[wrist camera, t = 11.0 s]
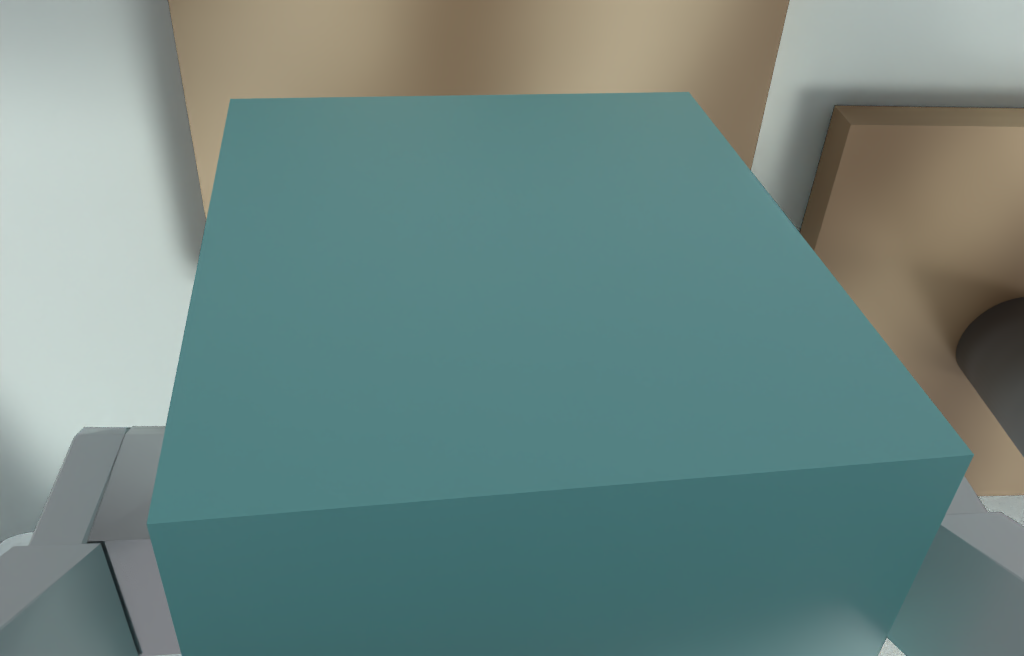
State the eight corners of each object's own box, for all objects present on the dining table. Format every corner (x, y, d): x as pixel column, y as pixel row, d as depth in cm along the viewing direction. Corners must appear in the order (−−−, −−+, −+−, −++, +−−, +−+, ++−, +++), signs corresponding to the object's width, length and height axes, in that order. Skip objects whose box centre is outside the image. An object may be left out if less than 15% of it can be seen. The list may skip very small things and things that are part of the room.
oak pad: (828, -266, 17) (848, -261, 16) (708, 288, 24) (718, 311, 23) (132, -302, 16) (116, -297, 15) (229, 289, 23) (221, 314, 22)
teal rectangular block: (688, 92, 13) (973, 455, 7) (632, 421, 16) (792, 833, 11) (230, 98, 12) (145, 523, 6) (277, 447, 15) (251, 915, 10)
